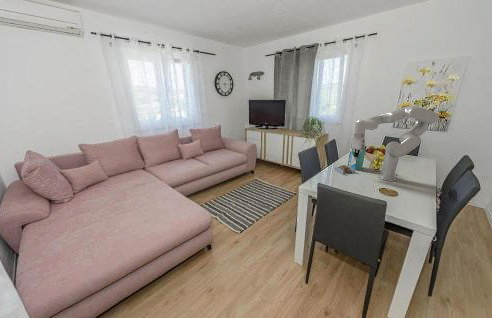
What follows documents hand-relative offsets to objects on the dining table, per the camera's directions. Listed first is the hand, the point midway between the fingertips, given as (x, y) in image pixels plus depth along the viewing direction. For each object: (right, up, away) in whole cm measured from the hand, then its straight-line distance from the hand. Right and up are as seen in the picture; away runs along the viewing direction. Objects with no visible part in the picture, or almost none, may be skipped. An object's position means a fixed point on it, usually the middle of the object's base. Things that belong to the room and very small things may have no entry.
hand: (356, 156), depth 167 cm
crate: (-3, -14, +15) cm, 20 cm away
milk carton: (+11, -11, +23) cm, 27 cm away
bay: (-3, -14, +13) cm, 19 cm away
